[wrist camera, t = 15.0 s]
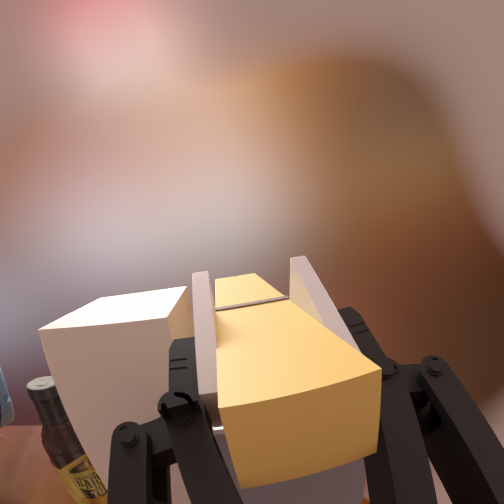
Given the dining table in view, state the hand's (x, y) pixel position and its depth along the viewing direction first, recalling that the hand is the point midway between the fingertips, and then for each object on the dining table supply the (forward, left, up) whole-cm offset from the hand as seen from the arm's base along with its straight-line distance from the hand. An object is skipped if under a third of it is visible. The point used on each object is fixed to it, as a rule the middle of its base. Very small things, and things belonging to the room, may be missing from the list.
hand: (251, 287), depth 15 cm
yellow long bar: (-3, +2, -4) cm, 5 cm away
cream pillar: (-11, -4, -28) cm, 30 cm away
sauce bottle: (-18, -14, -28) cm, 36 cm away
